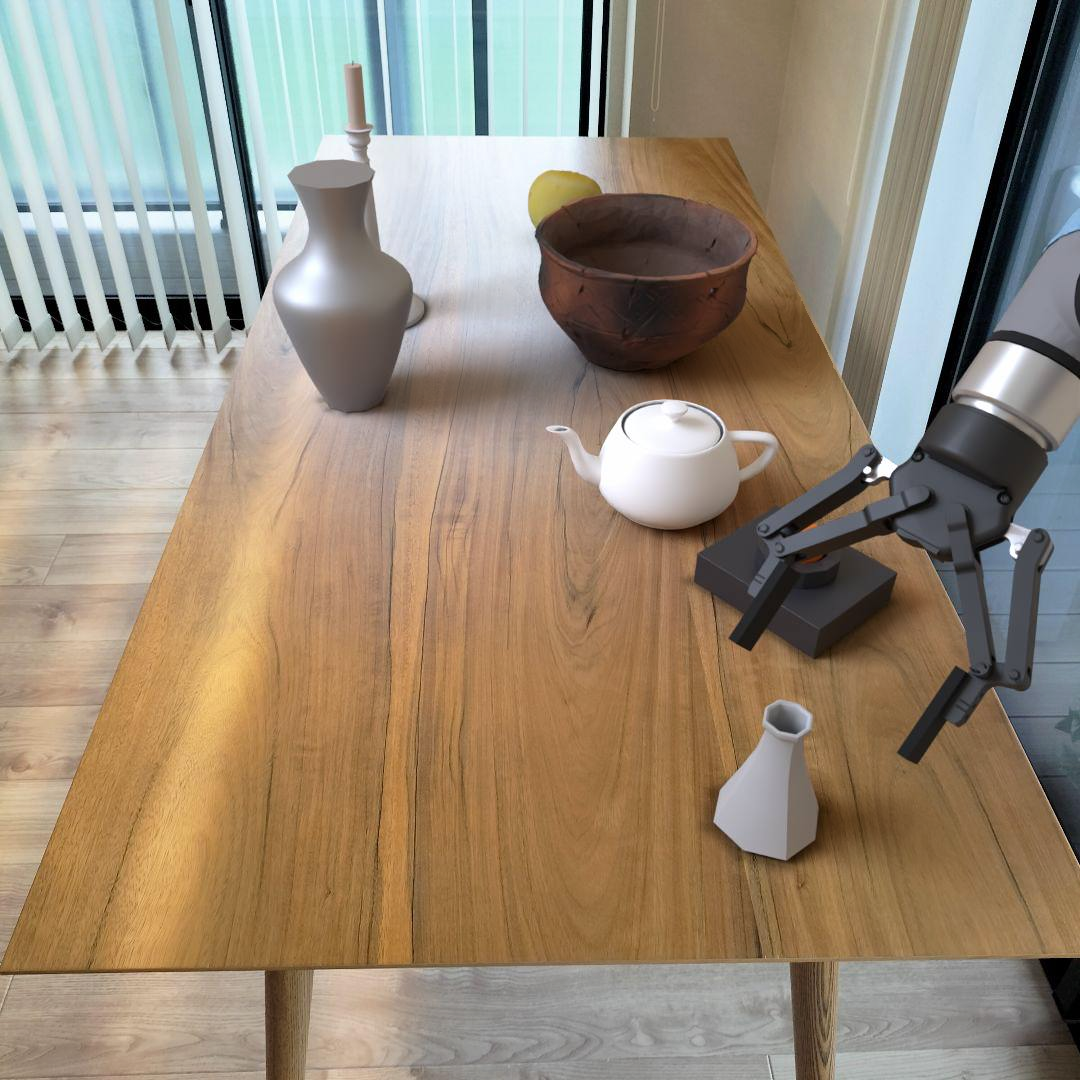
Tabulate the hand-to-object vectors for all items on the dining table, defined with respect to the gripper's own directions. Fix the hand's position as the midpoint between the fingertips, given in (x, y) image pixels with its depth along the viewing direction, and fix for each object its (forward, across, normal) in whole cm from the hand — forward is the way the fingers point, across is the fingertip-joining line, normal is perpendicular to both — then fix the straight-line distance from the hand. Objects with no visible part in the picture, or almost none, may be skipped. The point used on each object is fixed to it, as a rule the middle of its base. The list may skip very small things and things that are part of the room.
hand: (818, 699), depth 72 cm
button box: (-6, +14, -19) cm, 24 cm away
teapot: (-6, +31, -20) cm, 37 cm away
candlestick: (-8, +83, -22) cm, 86 cm away
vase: (+2, +67, -12) cm, 68 cm away
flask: (+9, 0, -4) cm, 10 cm away
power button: (-9, +14, -16) cm, 23 cm away
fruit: (-33, +85, -46) cm, 102 cm away
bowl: (-21, +54, -34) cm, 67 cm away
